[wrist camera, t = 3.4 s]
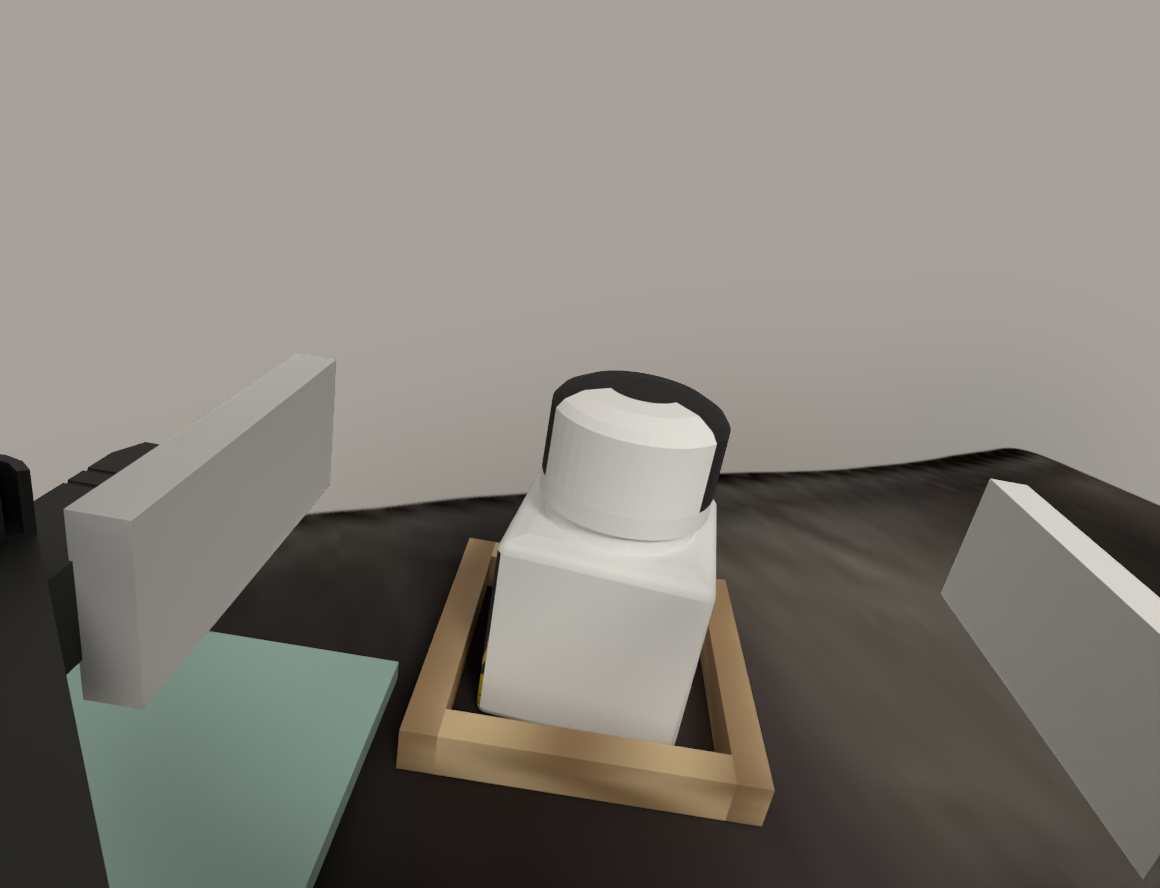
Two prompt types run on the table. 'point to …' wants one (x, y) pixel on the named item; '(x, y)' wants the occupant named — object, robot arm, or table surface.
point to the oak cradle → (578, 758)
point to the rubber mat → (231, 764)
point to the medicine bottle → (609, 562)
